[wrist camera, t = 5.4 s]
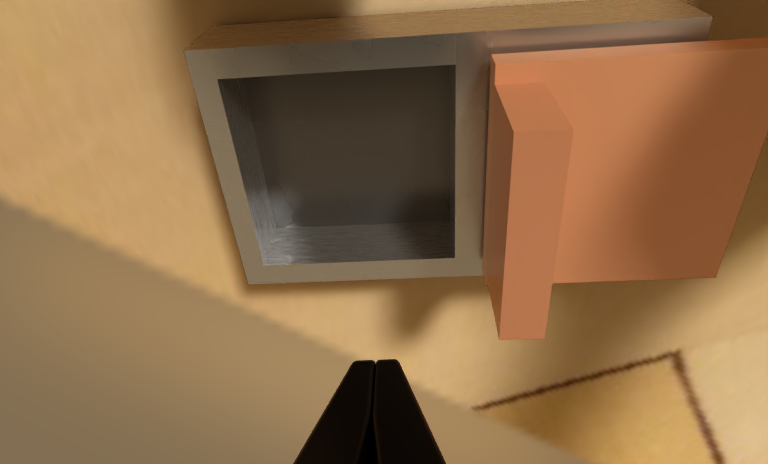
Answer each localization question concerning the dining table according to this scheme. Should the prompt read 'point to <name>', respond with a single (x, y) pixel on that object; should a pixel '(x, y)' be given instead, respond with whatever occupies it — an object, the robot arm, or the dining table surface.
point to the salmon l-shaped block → (615, 166)
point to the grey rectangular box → (380, 128)
